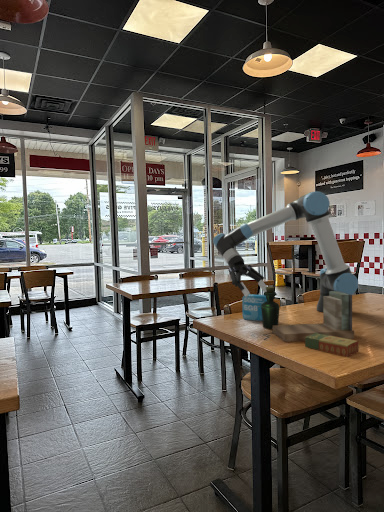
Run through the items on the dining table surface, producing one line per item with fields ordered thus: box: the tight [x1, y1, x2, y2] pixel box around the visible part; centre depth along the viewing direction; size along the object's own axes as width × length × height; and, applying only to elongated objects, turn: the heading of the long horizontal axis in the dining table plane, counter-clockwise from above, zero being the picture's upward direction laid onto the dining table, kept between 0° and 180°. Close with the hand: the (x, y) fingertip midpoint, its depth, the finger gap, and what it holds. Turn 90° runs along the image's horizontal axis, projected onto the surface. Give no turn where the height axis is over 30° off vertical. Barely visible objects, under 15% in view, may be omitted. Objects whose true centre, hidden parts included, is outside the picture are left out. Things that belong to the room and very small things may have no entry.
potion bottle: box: [261, 286, 281, 330], centre depth 159 cm, size 8×8×18 cm
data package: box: [241, 293, 267, 322], centre depth 176 cm, size 12×4×12 cm, turn 65°
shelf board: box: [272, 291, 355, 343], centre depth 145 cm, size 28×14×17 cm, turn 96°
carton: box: [304, 333, 360, 358], centre depth 127 cm, size 8×16×4 cm, turn 41°
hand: (258, 293), depth 163 cm, fingers open, 13 cm apart
